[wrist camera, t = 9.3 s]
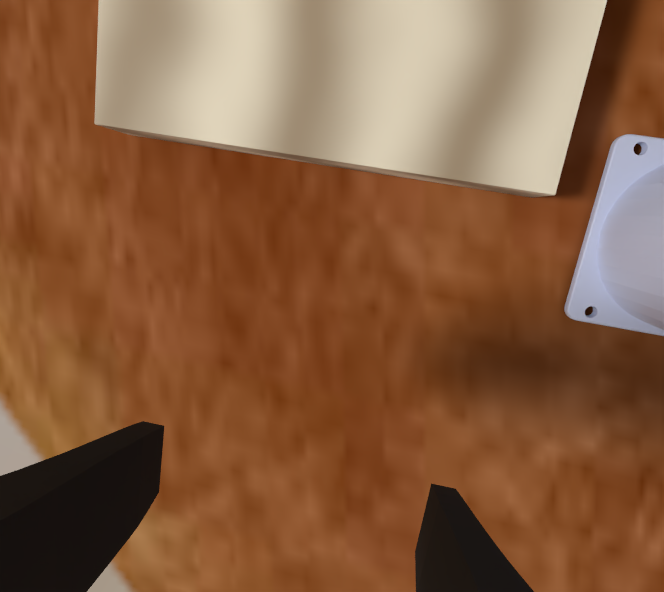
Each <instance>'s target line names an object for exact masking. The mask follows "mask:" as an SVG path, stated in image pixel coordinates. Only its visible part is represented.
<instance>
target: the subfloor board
mask: <svg viewBox="0 0 664 592" xmlns="http://www.w3.org/2000/svg"><path fill="white" fill-rule="evenodd" d="M606 3H607V0H99V11H98V39H97V68H96V97H95V124H96V125H99V126H103V127H106V128H109V129H112V130H116V131H119V132H122V133H125V134H129V135H134V136H140V137H147V138H153V139H160V140H166V141H173V142H179V143H185V144H192V145H198V146H205V147H211V148H218V149H224V150H230V151H237V152H243V153H250V154H256V155H263V156H269V157H275V158H282V159H288V160H295V161H301V162H308V163H314V164H320V165H327V166H333V167H340V168H346V169H353V170H359V171H365V172H372V173H378V174H385V175H391V176H398V177H404V178H410V179H417V180H423V181H430V182H436V183H443V184H449V185H455V186H462V187H468V188H475V189H481V190H488V191H494V192H500V193H507V194H513V195H520V196H526V197H542V196H551V195H555V194H556V190H557V186H558V183H559V179H560V175H561V171H562V168H563V164H564V160H565V156H566V153H567V149H568V145H569V141H570V138H571V134H572V130H573V126H574V123H575V119H576V115H577V111H578V108H579V104H580V100H581V96H582V93H583V89H584V85H585V81H586V78H587V74H588V70H589V67H590V63H591V59H592V55H593V52H594V48H595V44H596V40H597V37H598V33H599V29H600V25H601V22H602V18H603V14H604V10H605V7H606Z"/></svg>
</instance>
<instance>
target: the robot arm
mask: <svg viewBox="0 0 664 592" xmlns="http://www.w3.org/2000/svg"><path fill="white" fill-rule="evenodd" d="M636 144H640V146H641V147H642V151H641V153H640V154H639V155H637V154H635V153H634V146H635V145H636ZM589 306H592V307H593V312H592V313H591V314H590V315H587V316H586V315H585V310H586V308H588V307H589ZM564 311H565V313H566V315H567V316H568V317H569V318H571V319H574V320H577V321H582V322H588V323H593V324H599V325H605V326H610V327H616V328H621V329H627V330H633V331H638V332H644V333H650V334H655V335H661V336H664V139H662V138H654V137H647V136H640V135H633V134H626V135H623V136H620V137H618V138H616V139H615V140H614V141H613V143H612V145H611V147H610V150H609V154H608V157H607V161H606V164H605V168H604V171H603V175H602V178H601V182H600V185H599V189H598V192H597V196H596V199H595V203H594V206H593V209H592V213H591V216H590V220H589V223H588V227H587V230H586V234H585V237H584V241H583V244H582V248H581V251H580V255H579V258H578V262H577V265H576V269H575V272H574V276H573V279H572V282H571V286H570V289H569V293H568V296H567V300H566V303H565V308H564ZM163 434H164V426H162V425H157V424H153V423H148V422H140V423H137V424H134V425H131V426H128V427H126V428H123V429H121V430H118V431H116V432H114V433H111V434H109V435H106V436H104V437H102V438H99V439H97V440H94V441H92V442H89V443H87V444H85V445H82V446H80V447H77V448H75V449H72V450H70V451H68V452H65V453H62V454H60V455H57V456H54V457H52V458H49V459H46V460H44V461H41V462H38V463H36V464H33V465H30V466H28V467H25V468H23V469H20V470H17V471H14V472H11V473H8V474H5V475H2V476H0V592H87V591H88V589H89V588H90V587H91V586H92V584H93V583H94V582H95V581H96V579H97V578H98V577H99V576H100V574H101V573H102V572H103V571H104V569H105V568H106V567H107V566H108V564H109V563H110V562H111V561H112V559H113V558H114V557H115V555H116V554H117V553H118V552H119V550H120V549H121V548H122V547H123V545H124V544H125V543H126V541H127V540H128V539H129V538H130V536H131V535H132V534H133V532H134V531H135V530H136V528H137V527H138V525H139V524H140V522H141V521H142V519H143V518H144V516H145V514H146V513H147V511H148V509H149V508H150V506H151V504H152V503H153V501H154V499H155V498H156V496H157V494H158V493H159V484H160V472H161V459H162V447H163ZM415 560H416V592H534V591H533V590H532V589H531V588H530V587H529V585H528V584H527V583H526V582H525V581H524V579H523V578H522V577H521V576H520V575H519V573H518V572H517V571H516V570H515V569H514V567H513V566H512V565H511V564H510V562H509V561H508V560H507V559H506V557H505V556H504V555H503V553H502V552H501V551H500V550H499V548H498V547H497V546H496V544H495V543H494V542H493V540H492V539H491V538H490V536H489V535H488V533H487V532H486V531H485V529H484V528H483V527H482V525H481V524H480V522H479V521H478V520H477V518H476V517H475V515H474V514H473V513H472V511H471V510H470V508H469V507H468V505H467V504H466V503H465V501H464V500H463V498H462V497H461V496H460V494H459V493H458V491H457V490H456V489H454V488H449V487H444V486H440V485H435V484H431V488H430V492H429V496H428V500H427V505H426V509H425V513H424V517H423V521H422V526H421V530H420V534H419V538H418V542H417V546H416V551H415Z"/></svg>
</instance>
